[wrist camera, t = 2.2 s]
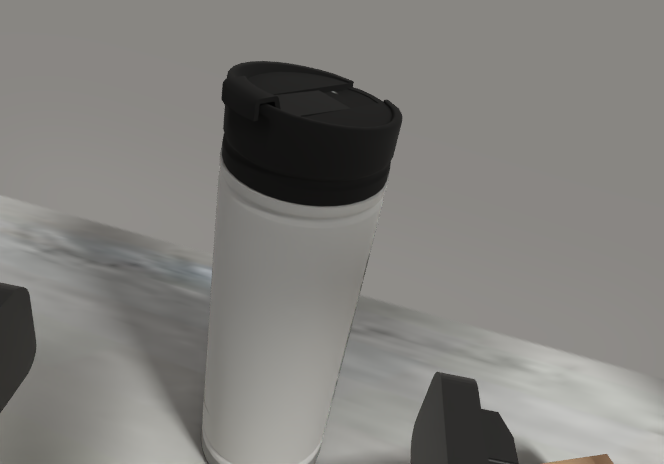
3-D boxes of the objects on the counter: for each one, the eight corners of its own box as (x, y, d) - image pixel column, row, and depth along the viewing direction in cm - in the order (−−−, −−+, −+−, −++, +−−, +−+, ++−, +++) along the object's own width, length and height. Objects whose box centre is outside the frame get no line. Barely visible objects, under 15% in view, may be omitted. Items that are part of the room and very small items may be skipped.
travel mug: (171, 430, 31) (179, 53, 19) (271, 374, 35) (325, 37, 24) (243, 523, 27) (302, 133, 16) (343, 449, 31) (446, 97, 20)
